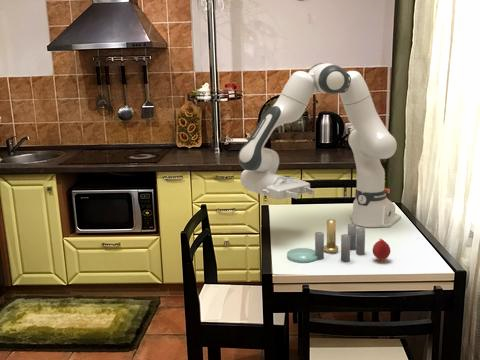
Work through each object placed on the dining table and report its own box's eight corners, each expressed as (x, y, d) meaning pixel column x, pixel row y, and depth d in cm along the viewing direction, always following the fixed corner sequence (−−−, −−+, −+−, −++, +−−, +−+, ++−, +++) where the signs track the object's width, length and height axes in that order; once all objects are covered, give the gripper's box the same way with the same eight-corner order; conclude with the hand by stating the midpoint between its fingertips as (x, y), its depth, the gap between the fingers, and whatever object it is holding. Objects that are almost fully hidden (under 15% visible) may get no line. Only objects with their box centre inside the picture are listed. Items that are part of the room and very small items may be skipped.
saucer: (300, 248, 196) (300, 245, 195) (325, 256, 188) (325, 253, 188) (280, 257, 188) (280, 254, 188) (304, 265, 181) (304, 262, 180)
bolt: (329, 247, 196) (329, 217, 194) (341, 250, 193) (341, 220, 190) (320, 251, 193) (320, 220, 190) (332, 254, 189) (332, 223, 186)
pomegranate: (387, 257, 185) (387, 235, 184) (392, 263, 180) (393, 241, 178) (370, 257, 185) (370, 235, 183) (375, 264, 180) (375, 241, 178)
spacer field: (343, 244, 199) (344, 221, 197) (369, 251, 191) (370, 227, 189) (313, 258, 187) (313, 233, 185) (339, 266, 179) (339, 240, 177)
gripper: (259, 181, 196) (289, 189, 188) (292, 175, 211) (321, 182, 203) (258, 198, 198) (287, 207, 189) (291, 190, 213) (320, 198, 204)
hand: (305, 194), depth 196 cm, fingers open, 8 cm apart
